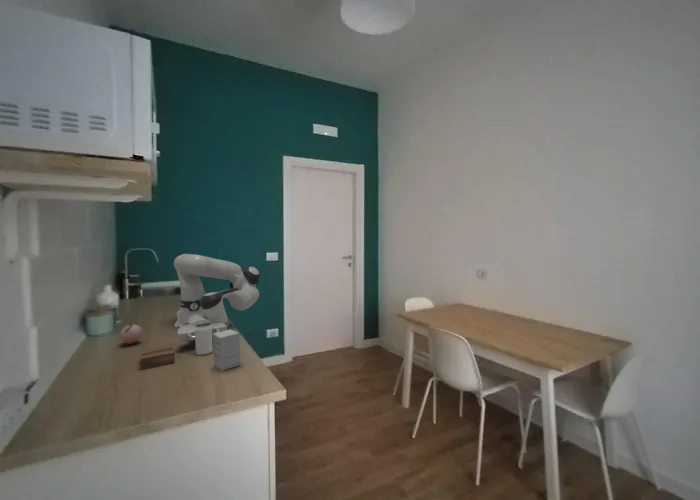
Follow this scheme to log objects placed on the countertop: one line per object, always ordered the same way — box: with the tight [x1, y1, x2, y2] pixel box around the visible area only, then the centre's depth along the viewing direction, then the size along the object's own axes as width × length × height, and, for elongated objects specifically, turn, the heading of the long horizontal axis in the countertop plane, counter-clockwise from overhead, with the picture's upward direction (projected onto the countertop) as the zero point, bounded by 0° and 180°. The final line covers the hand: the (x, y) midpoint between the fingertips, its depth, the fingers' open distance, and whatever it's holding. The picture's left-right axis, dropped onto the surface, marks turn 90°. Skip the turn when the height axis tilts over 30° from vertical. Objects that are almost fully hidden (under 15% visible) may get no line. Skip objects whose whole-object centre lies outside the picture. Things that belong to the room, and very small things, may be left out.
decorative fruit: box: [119, 322, 143, 345], centre depth 151 cm, size 9×8×10 cm
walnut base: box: [140, 344, 176, 370], centre depth 130 cm, size 11×11×4 cm
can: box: [194, 323, 213, 356], centre depth 139 cm, size 6×6×12 cm
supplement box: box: [212, 329, 241, 372], centre depth 125 cm, size 7×7×13 cm
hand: (205, 336), depth 140 cm, fingers open, 8 cm apart
